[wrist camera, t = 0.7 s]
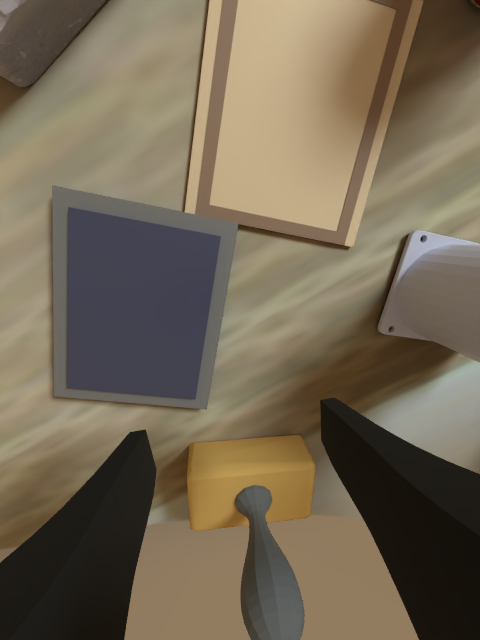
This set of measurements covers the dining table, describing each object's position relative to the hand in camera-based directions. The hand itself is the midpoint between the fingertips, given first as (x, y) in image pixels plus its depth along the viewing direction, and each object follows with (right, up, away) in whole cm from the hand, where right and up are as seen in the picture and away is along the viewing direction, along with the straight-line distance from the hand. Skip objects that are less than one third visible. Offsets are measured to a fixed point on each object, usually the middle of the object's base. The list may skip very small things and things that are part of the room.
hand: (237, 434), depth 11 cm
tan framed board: (+4, +18, +6) cm, 19 cm away
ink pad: (-7, +5, +8) cm, 12 cm away
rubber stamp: (+1, -8, +14) cm, 16 cm away
